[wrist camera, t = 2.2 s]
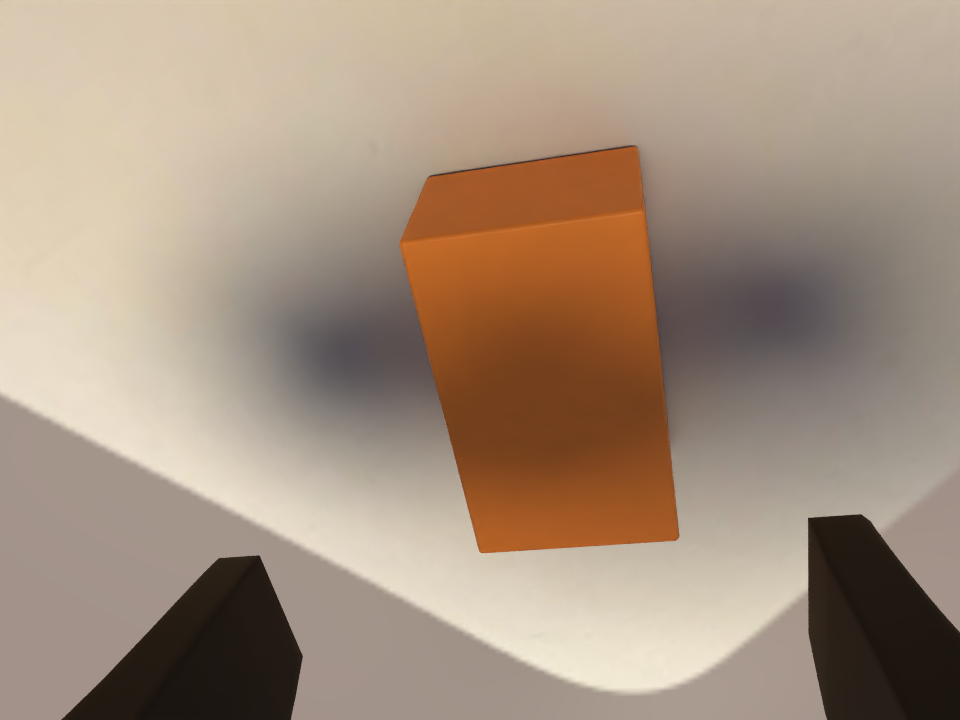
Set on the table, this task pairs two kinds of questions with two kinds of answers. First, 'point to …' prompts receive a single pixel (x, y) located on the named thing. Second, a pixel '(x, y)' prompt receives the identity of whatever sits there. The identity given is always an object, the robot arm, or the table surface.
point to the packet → (547, 349)
